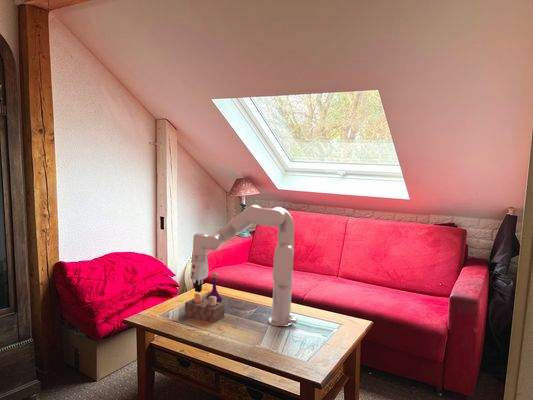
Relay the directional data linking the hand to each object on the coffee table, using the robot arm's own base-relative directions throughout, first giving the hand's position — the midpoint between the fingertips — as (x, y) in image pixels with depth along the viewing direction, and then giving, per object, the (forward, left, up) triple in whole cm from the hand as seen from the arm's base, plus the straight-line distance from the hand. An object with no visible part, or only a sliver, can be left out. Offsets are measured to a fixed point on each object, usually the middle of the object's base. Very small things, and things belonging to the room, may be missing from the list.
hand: (198, 291), depth 212 cm
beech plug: (-9, 0, -8) cm, 12 cm away
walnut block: (-5, 0, -12) cm, 13 cm away
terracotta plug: (0, 0, -8) cm, 8 cm away
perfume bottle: (+1, -18, -13) cm, 22 cm away
